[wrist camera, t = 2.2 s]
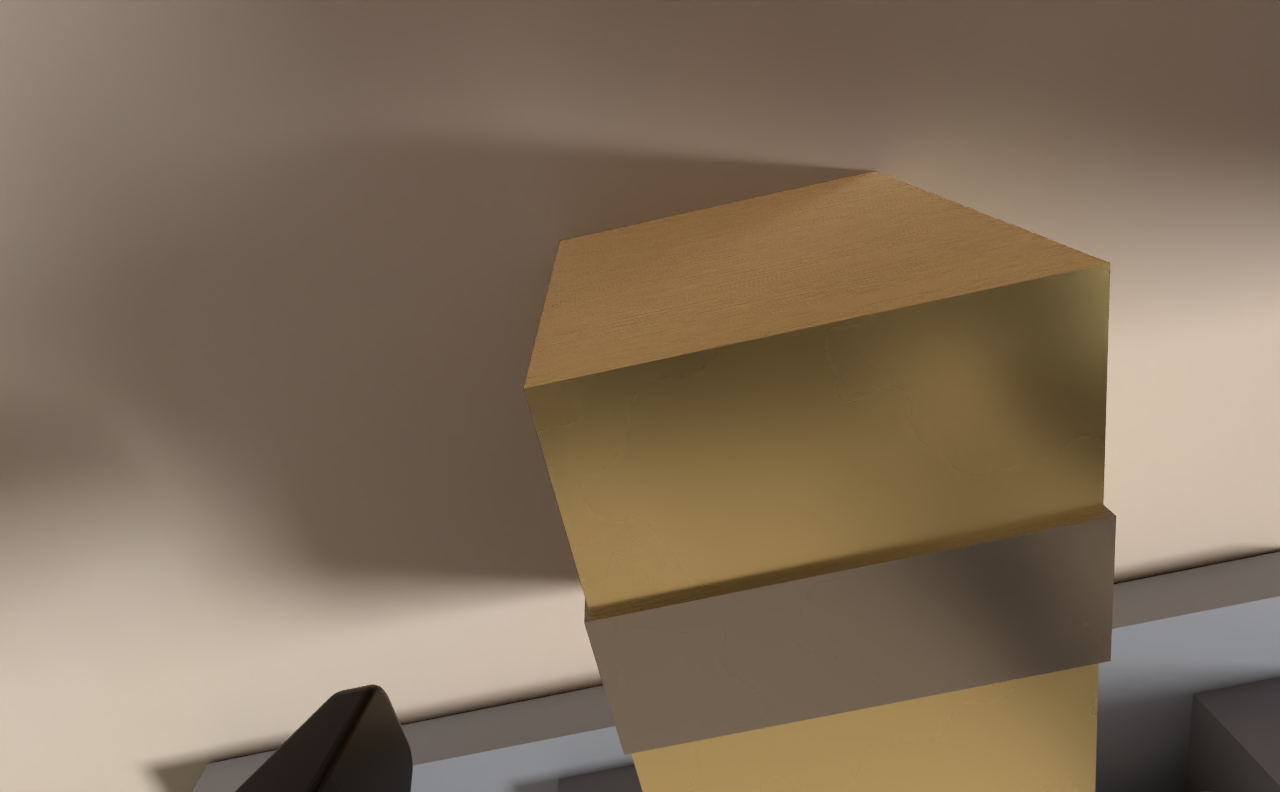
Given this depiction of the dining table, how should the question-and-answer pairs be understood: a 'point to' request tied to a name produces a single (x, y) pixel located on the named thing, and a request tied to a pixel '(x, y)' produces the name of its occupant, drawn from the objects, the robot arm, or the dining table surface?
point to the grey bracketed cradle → (1126, 716)
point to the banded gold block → (836, 491)
